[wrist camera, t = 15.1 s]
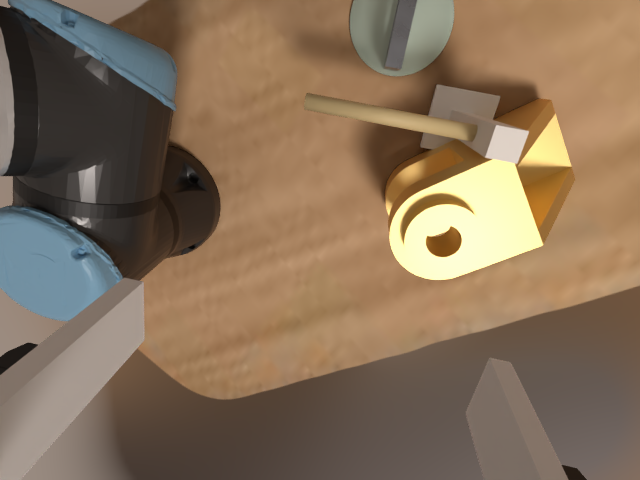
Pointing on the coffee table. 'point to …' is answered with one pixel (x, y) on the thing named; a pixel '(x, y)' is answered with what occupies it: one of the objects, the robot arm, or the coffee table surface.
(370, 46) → the coaster
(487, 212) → the clamp
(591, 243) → the coffee table surface
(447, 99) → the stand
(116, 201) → the robot arm
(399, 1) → the link
